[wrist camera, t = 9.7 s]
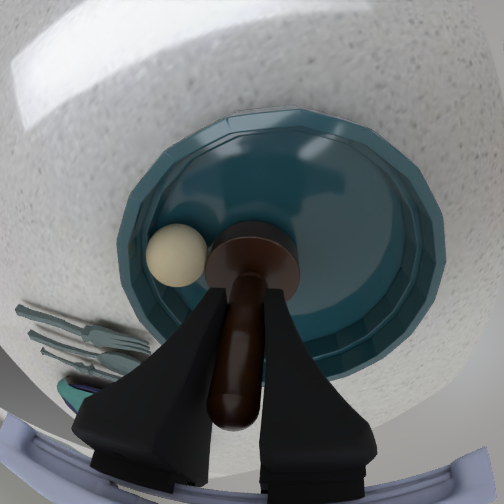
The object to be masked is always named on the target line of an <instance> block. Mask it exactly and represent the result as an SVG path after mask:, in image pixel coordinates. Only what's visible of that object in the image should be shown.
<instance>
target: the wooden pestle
mask: <svg viewBox="0 0 504 504" xmlns="http://www.w3.org/2000/svg"><path fill="white" fill-rule="evenodd" d="M205 278H206V282H207V284H208V287H209V288H210V287H214V288H226V295H227V303H228V306H227V310H226V315H225V319H224V324H223V328H222V333H221V337H220V342H219V347H218V351H217V356H216V360H215V365H214V370H213V374H212V379H211V384H210V388H209V393H208V398H207V404H206V408H207V413H208V416H209V418H210V419H211V421H212V422H213V423H214V424H215V425H216V426H218V427H219V428H221V429H223V430H227V431H240V430H244V429H246V428H248V427H249V426H251V425H252V424H253V423H254V422H255V420H256V419H257V417H258V415H259V410H260V401H261V389H262V376H263V364H264V350H265V325H264V293H265V288H275V289H282V290H283V291H284V297H285V301H286V302H288V301H289V300H290V299H291V298H292V297H293V295H294V294H295V292H296V290H297V288H298V286H299V282H300V266H299V256H298V251H297V248H296V246H295V244H294V242H293V241H292V240H291V238H290V237H289V236H288V235H287V234H286V233H285V232H283V231H282V230H281V229H279V228H277V227H275V226H273V225H271V224H268V223H264V222H259V221H246V222H241V223H238V224H234V225H232V226H230V227H228V228H227V229H225V230H224V231H223V232H221V233H220V234H219V236H218V237H217V238H216V240H215V241H214V243H213V246H212V248H211V251H210V253H209V256H208V258H207V261H206V264H205Z"/></svg>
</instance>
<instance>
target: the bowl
mask: <svg viewBox="0 0 504 504" xmlns="http://www.w3.org/2000/svg"><path fill="white" fill-rule="evenodd" d="M246 221H259V222H264V223H268V224H271V225H273V226H275V227H277V228H279V229H281V230H282V231H283V232H285V233H286V234H287V235H288V236H289V237H290V238H291V240H292V241H293V242H294V244H295V246H296V248H297V251H298V256H299V266H300V282H299V286H298V288H297V290H296V292H295V294H294V295H293V297H292V298H291V299H290V300H289V301H288V302H286V304H287V307H288V310H289V313H290V315H291V318H292V320H293V322H294V325H295V327H296V329H297V331H298V333H299V335H300V337H301V339H302V341H303V343H304V345H305V346H306V348H307V350H308V352H309V353H310V355H311V357H312V358H313V360H314V361H315V363H316V364H317V366H318V367H319V369H320V370H321V371H322V373H323V374H324V376H325V377H326V378H327V379H328V381H333V380H337V379H340V378H344V377H347V376H349V375H352V374H354V373H356V372H358V371H360V370H362V369H364V368H366V367H368V366H370V365H372V364H374V363H376V362H377V361H379V360H381V359H383V358H384V357H385V356H387V355H388V354H389V353H390V352H392V351H393V350H394V349H395V348H396V347H398V346H399V345H400V344H401V343H402V342H403V341H405V340H406V339H407V338H408V337H409V336H410V335H411V334H412V333H413V332H414V330H415V329H416V328H417V326H418V325H419V323H420V322H421V321H422V319H423V318H424V316H425V315H426V313H427V312H428V310H429V309H430V307H431V306H432V304H433V303H434V300H435V298H436V295H437V291H438V288H439V285H440V282H441V278H442V275H443V271H444V267H445V264H446V248H445V234H444V223H443V216H442V213H441V210H440V208H439V206H438V204H437V202H436V200H435V198H434V196H433V194H432V192H431V190H430V188H429V186H428V184H427V182H426V181H425V179H424V177H423V175H422V173H421V171H420V170H419V169H418V167H417V166H416V165H415V164H413V163H412V162H411V161H410V160H409V159H408V158H407V157H405V156H404V155H403V154H402V153H401V152H399V151H398V150H397V149H396V148H395V147H393V146H392V145H391V144H390V143H388V142H387V141H386V140H385V139H383V138H382V137H381V136H379V135H378V134H377V133H376V132H374V131H373V130H371V129H369V128H367V127H365V126H363V125H361V124H358V123H356V122H354V121H351V120H349V119H346V118H342V117H339V116H336V115H332V114H328V113H325V112H321V111H317V110H314V109H310V108H306V107H301V106H297V105H288V106H276V107H266V108H257V109H249V110H241V111H238V112H234V113H232V114H230V115H228V116H226V117H224V118H222V119H220V120H218V121H216V122H214V123H212V124H210V125H208V126H206V127H204V128H202V129H201V130H199V131H197V132H195V133H193V134H191V135H190V136H188V137H186V138H184V139H183V140H181V141H179V142H177V143H176V144H174V145H172V146H171V147H169V148H168V149H167V150H165V151H164V152H163V153H162V155H161V156H160V157H159V158H158V159H157V161H156V162H155V163H154V164H153V165H152V167H151V168H150V169H149V170H148V172H147V173H146V174H145V175H144V177H143V178H142V179H141V180H140V182H139V183H138V184H137V185H136V187H135V188H134V189H133V191H132V192H131V194H130V196H129V198H128V201H127V205H126V208H125V212H124V215H123V218H122V222H121V226H120V229H119V233H118V237H117V254H118V263H119V272H120V279H121V284H122V287H123V289H124V291H125V294H126V296H127V298H128V300H129V302H130V304H131V306H132V308H133V310H134V312H135V314H136V316H137V318H138V319H139V321H140V322H141V323H142V325H143V326H144V327H145V328H146V329H147V330H148V331H149V332H150V333H151V334H152V335H153V337H154V338H155V339H156V340H157V341H158V342H159V343H160V344H161V345H163V344H164V343H165V342H166V341H167V340H168V339H169V338H170V336H171V335H172V334H173V333H174V332H175V331H176V330H177V329H178V328H179V327H180V325H181V324H182V323H183V322H184V321H185V319H186V318H187V317H188V316H189V314H190V313H191V312H192V311H193V309H194V308H195V307H196V306H197V304H198V303H199V302H200V300H201V299H202V297H203V296H204V295H205V293H206V292H207V291H208V289H209V287H208V284H207V282H206V278H205V270H204V272H203V274H202V275H201V276H200V277H199V278H198V279H197V280H196V281H195V282H193V283H191V284H189V285H187V286H183V287H171V286H167V285H165V284H163V283H161V282H159V281H158V280H157V279H156V278H155V277H154V276H153V275H152V273H151V272H150V270H149V268H148V265H147V261H146V249H147V245H148V243H149V241H150V239H151V237H152V236H153V235H154V233H155V232H156V231H158V230H159V229H160V228H162V227H164V226H167V225H170V224H184V225H187V226H190V227H192V228H193V229H195V230H196V231H197V232H199V233H200V235H201V236H202V237H203V239H204V241H205V243H206V245H207V249H208V256H209V253H210V251H211V248H212V246H213V243H214V241H215V240H216V238H217V237H218V236H219V234H220V233H221V232H223V231H224V230H225V229H227V228H228V227H230V226H232V225H234V224H238V223H241V222H246ZM265 372H266V361H265V350H264V364H263V376H262V387H264V385H265Z"/></svg>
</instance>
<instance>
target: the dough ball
mask: <svg viewBox="0 0 504 504" xmlns="http://www.w3.org/2000/svg"><path fill="white" fill-rule="evenodd" d="M207 258H208V249H207V245H206V243H205V241H204V239H203V237H202V236H201V235H200V233H199V232H197V231H196V230H195V229H193V228H192V227H190V226H187V225H184V224H170V225H167V226H164V227H162V228H160V229H159V230H158V231H156V232H155V233H154V235H153V236H152V237H151V239H150V241H149V243H148V245H147V249H146V261H147V265H148V268H149V270H150V272H151V273H152V275H153V276H154V277H155V278H156V279H157V280H158V281H159V282H161V283H163V284H165V285H167V286H171V287H183V286H187V285H189V284H191V283H193V282H195V281H196V280H197V279H198V278H199V277H200V276H201V275H202V274H203V272H204V270H205V264H206V261H207Z"/></svg>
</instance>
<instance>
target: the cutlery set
mask: <svg viewBox="0 0 504 504" xmlns="http://www.w3.org/2000/svg"><path fill="white" fill-rule="evenodd" d="M15 311H16V313H17V315H19V316H23V317H25V318H28V319H30V320H34V321H38V322H42V323H46V324H49V325H52V326H56V327H59V328H62V329H64V330H66V331H68V332H71V333H73V334H76V335H78V336H81V337H82V338H83V341H84V342H86V341H91V342H92V343H93V344H94V345H95V346H96V347H98V346H107V347H112V348H118V349H125V350H132V351H137V352H142V353H145V354H149V355H151V352H150V351H148V350H150V347H148V346H146V345H149V342H147V341H145V340H142V339H140V338H137V337H133V336H129V335H125V334H121V333H118V332H115V331H113V330H110V329H107V328H105V327H102V326H98V325H95V324H94V325H93V326H88V325H86V326H85V327H84V329H83V328H80V327H78V326H75V325H73V324H70V323H68V322H66V321H65V320H63V319H60V318H57V317H54V316H51V315H48V314H45V313H42V312H38V311H34V310H31V309H29V308H26V307H24V306H23V305H20V304H19V305H18V306H17V307H16V308H15ZM28 335H29V337H30V339H31V340H34V341H37V342H40V343H42V344H45V345H48V346H51V347H54V348H57V349H59V350H63V351H67V352H71V353H75V354H79V355H83V356H88V357H93V358H97V360H98V361H99V362H100V363H101V364H103V365H104V366H106V367H107V368H109V369H110V370H112V371H114V372H117V373H119V374H122V375H124V376H125V375H126V374H128V373H129V372H131V371H132V370H133V369H135V368H136V367H137V366H139V365H140V364H141V363H142V362H140V361H139V360H137V359H135V358H133V357H131V356H128V355H126V354H123V353H119V352H109V351H107V352H105V353H102V354H97V353H92V352H88V351H84V350H81V349H78V348H75V347H72V346H68V345H65V344H62V343H59V342H57V341H54V340H52V339H49V338H47V337H45V336H42V335H40V334H38V333H36V332H35V331H33V330H30V331H29V332H28ZM144 344H145V345H144ZM145 349H146V350H145ZM41 353H42V355H44V354H45V355H48V356H50V357H53V358H55V359H58V360H60V361H62V362H64V363H65V364H68V365H70V366H73V367H75V368H76V369H77V370H79V371H80V372H81V373H89V375H90V376H91V377H92V375H93V374H95V375H98V376H100V377H102V378H105V379H108V380H110V381H113V382H116V381H117V380H119V379H120V378H122V377H119V376H115V375H112V374H109V373H106V372H103V371H100V370H97V369H95V368H94V366H93V364H91V365H90V366H85V365H84V364H83V363H73V362H70V361H68V360H65V359H63V358H60V357H57V356H55V355H53V354H51V353H49V352H47V351H45V349H44V347H43V348H42V349H41ZM67 377H69V376H67ZM57 390H58V392H59V394H60V395H61V397H62V398H63V400H64V401H65V403H66V404H67V406H68V407H69V408H70V409H71V410H72V411H73V412H74V413H76V414H77V413H78V410H79V408H80V406H81V404H82V402H83V400H84V398H86V397H88V396H90V395H92V394H94V393H96V392H98V391H100V390H101V389H97V388H93V387H90V386H86V385H75V384H67V383H66V381H65V378H64V379H62V380H60V381H59V382H58V385H57Z"/></svg>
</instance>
